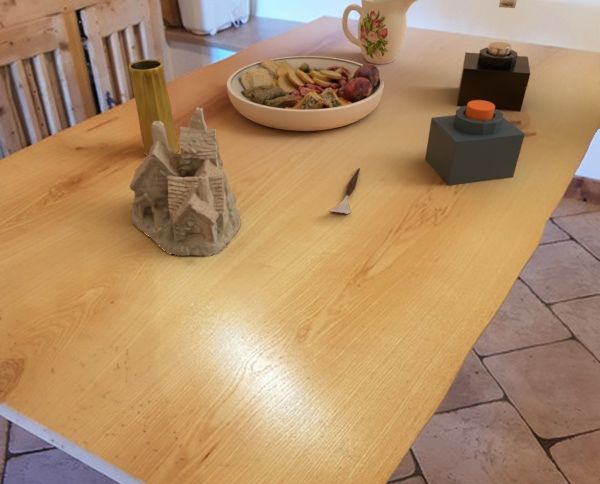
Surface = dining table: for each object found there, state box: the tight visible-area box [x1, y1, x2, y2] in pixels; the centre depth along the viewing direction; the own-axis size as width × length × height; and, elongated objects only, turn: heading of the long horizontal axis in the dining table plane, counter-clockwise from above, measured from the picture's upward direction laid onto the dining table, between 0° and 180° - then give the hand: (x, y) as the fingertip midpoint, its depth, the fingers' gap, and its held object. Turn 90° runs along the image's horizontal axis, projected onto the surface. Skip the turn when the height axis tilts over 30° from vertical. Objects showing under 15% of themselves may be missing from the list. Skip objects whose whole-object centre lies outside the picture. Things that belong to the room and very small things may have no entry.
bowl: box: [226, 55, 385, 132], centre depth 106 cm, size 30×30×8 cm
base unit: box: [456, 46, 531, 112], centre depth 107 cm, size 12×10×9 cm
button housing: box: [424, 106, 526, 187], centre depth 85 cm, size 11×9×9 cm
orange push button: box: [465, 100, 495, 120], centre depth 82 cm, size 4×4×2 cm
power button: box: [487, 41, 512, 57], centre depth 104 cm, size 4×4×2 cm
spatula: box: [328, 167, 361, 215], centre depth 81 cm, size 3×16×2 cm, turn 164°
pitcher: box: [341, 0, 418, 65], centre depth 125 cm, size 11×18×14 cm, turn 61°
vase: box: [128, 58, 180, 156], centre depth 89 cm, size 6×6×14 cm
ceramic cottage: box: [129, 106, 242, 257], centre depth 72 cm, size 16×16×15 cm
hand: (507, 5), depth 103 cm, fingers closed
